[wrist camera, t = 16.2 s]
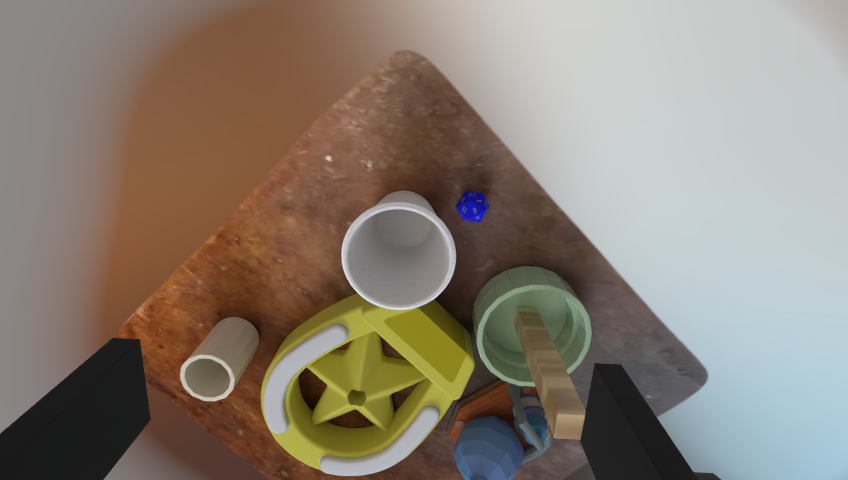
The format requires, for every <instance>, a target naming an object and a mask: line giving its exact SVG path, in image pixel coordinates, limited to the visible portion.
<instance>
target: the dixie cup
mask: <svg viewBox="0 0 848 480" xmlns="http://www.w3.org/2000/svg"><path fill="white" fill-rule="evenodd" d="M341 258H342V265H343V269H344V273H345V275H346V277H347V279H348V281H349V283H350V284H351V286H352V287H353V288H354V290H355V291H356V292H357V293H358V294H359V295H361V296H362V297H363V298H364V299H366V300H367V301H369V302H371V303H373V304H375V305H377V306H380V307H383V308H387V309H393V310H406V309H412V308H416V307H419V306H422V305H424V304H426V303H428V302H430V301H432V300H433V299H435V298H436V297H437V296H438V295H439V294H440V293H441V292H442V291H443V290H444V289H445V288H446V286H447V285H448V283H449V282H450V280H451V278H452V275H453V273H454V269H455V264H456V249H455V244H454V241H453V238H452V236H451V233H450V232H449V230H448V228H447V227H446V225H445V224H444V223H443V222H442V221H441V219H440V218H438V217H437V215H436V214H435V212H434V210H433V209H432V207H431V205H430V204H429V203H428V201H427V200H426V199H425V198H423V197H422V196H421V195H419V194H417V193H415V192H411V191H396V192H393V193H390V194H388V195H387V196H385V197H384V198H383V199H382V200H381V201H380V202H378V203H377V204H376V205H375V206H374V207H372V208H370V209H368V210H367V211H365V212H364V213H362V214H361V215H360V216H359V217H358V218H357V219H356V220H355V221H354V222H353V223H352V225H351V226H350V227H349V229H348V231H347V233H346V235H345V238H344V241H343V245H342V252H341Z"/></svg>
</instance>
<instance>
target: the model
mask: <svg viewBox="0 0 848 480" xmlns="http://www.w3.org/2000/svg"><path fill="white" fill-rule="evenodd" d="M446 434H447V435H448V437H449V438H450V439H451V441H452V442H453V443H454V445H455V447H454V454H453V455H454V458H455V461H456V464H457V467H458V469H459V470H460V472H461V474H462V475H463V477H464V479H465V480H512V478H513V477H514V476H515V474H516V473H517V471H518V469H519V468H520V466H521V464H522V463H523V462H527V461H530V460H532V459H534V458H536V457H537V456H539V455H540V454H542V453H543V452H545V451H546V450H547V449H548V448H549V446H550V445H551V443H552V441H553V437H552V436H553V434H552V432H551V429H550V426H549V423H548V420H547V417H546V415H545V412H544V409H543V406H542V403H541V400H540V398H539V395H538V392H537V389H536V386H535V387H533V386H519V385H515V384H512V383H509V382H506V381H503V380H502V379H498V380H496V381H494V382H492V383H491V384H489V385H487V386H485V387H483V388H482V389H480V390H478V391H476V392H474V393H473V394H471V395H469V396H467V397H465V398H464V399H462V400H460V401H458V402H457V405H456V407H455V409H454V411H453V414H452V416H451V419H450V421H449V424H448V427H447V429H446Z"/></svg>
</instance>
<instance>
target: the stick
mask: <svg viewBox="0 0 848 480" xmlns="http://www.w3.org/2000/svg"><path fill="white" fill-rule="evenodd" d="M514 327H515V330H516V332H517V335H518V338H519V341H520V344H521V347H522V349H523V352H524V355H525V358H526V361H527V364H528V366H529V369H530V372H531V375H532V378H533V381H534V383H535V386H536V389H537V392H538V395H539V398H540V400H541V403H542V406H543V409H544V412H545V415H546V417H547V420H548V423H549V426H550V429H551V432H552V434H553V437H554V438H561V439H581V434H582V429H583V423H584V418H585V413H586V411H585V408H584V406H583V404H582V402H581V400H580V398H579V396H578V394H577V392H576V389H575V387H574V385H573V383H572V381H571V379H570V377H569V375H568V373H567V371H566V368H565V366H564V364H563V362H562V360H561V358H560V356H559V354H558V352H557V350H556V347H555V345H554V343H553V341H552V339H551V337H550V335H549V333H548V331H547V329H546V326H545V324H544V322H543V320H542V318H541V316H540V314H539V312H538V310H537V308H536V307H521V306H516V310H515V318H514Z"/></svg>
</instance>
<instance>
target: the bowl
mask: <svg viewBox="0 0 848 480" xmlns="http://www.w3.org/2000/svg"><path fill="white" fill-rule="evenodd" d="M516 306H521V307H536V308H537V310H538V312H539V314H540V316H541V318H542V320H543V322H544V324H545V326H546V329H547V331H548V333H549V335H550V337H551V339H552V341H553V343H554V345H555V347H556V350H557V352H558V354H559V356H560V358H561V360H562V362H563V364H564V366H565V368H566V371H567V373H568V374H570V373H571V372H572V371H573V370H574V369H575V368H576V367H577V366H578V365H579V364H580V363H581V362H582V360H583V358H584V357H585V355H586V353H587V351H588V350H589V346H590V341H591V335H592V329H591V323H590V317H589V315H588V313H587V312H586V310H585V308H584V307H583V305H582V303H581V302H580V300H579V299H578V297H577V296H576V294H575V293H574V291H573V290H572V289H571V287H570V286H569V284H568V283H567V282H566V281H565V280H564V279H562V278H561V277H560V276H559V275H558V274H556V273H555V272H552V271H550V270H547V269H544V268H542V267H534V266H520V267H516V268H512V269H508V270H505V271H504V272H502V273H500V274H498V275H497V276H495V277H493V278H492V279H490V280H489V281H488V283H487V284H486V285H485V286H484V287H483V288H482V289H481V290H480V292H479V294H478V296H477V298H476V301H475V303H474V305H473V315H472V322H473V327H474V332H475V337H476V343H477V347H478V350H479V354H480V357H481V359H482V361H483V362H484V364H485V365H486V366H487V368H488V369H489V370H490V371H491V372H492V373H493V374H495V375H496V376H497V377H499V378H500V379H502V380H503V381H506V382H509V383H512V384H515V385H519V386H533V387H535V383H534V381H533V378H532V375H531V372H530V369H529V366H528V364H527V361H526V358H525V355H524V352H523V349H522V347H521V344H520V341H519V338H518V335H517V332H516V330H515V327H514V318H515V310H516Z"/></svg>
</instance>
